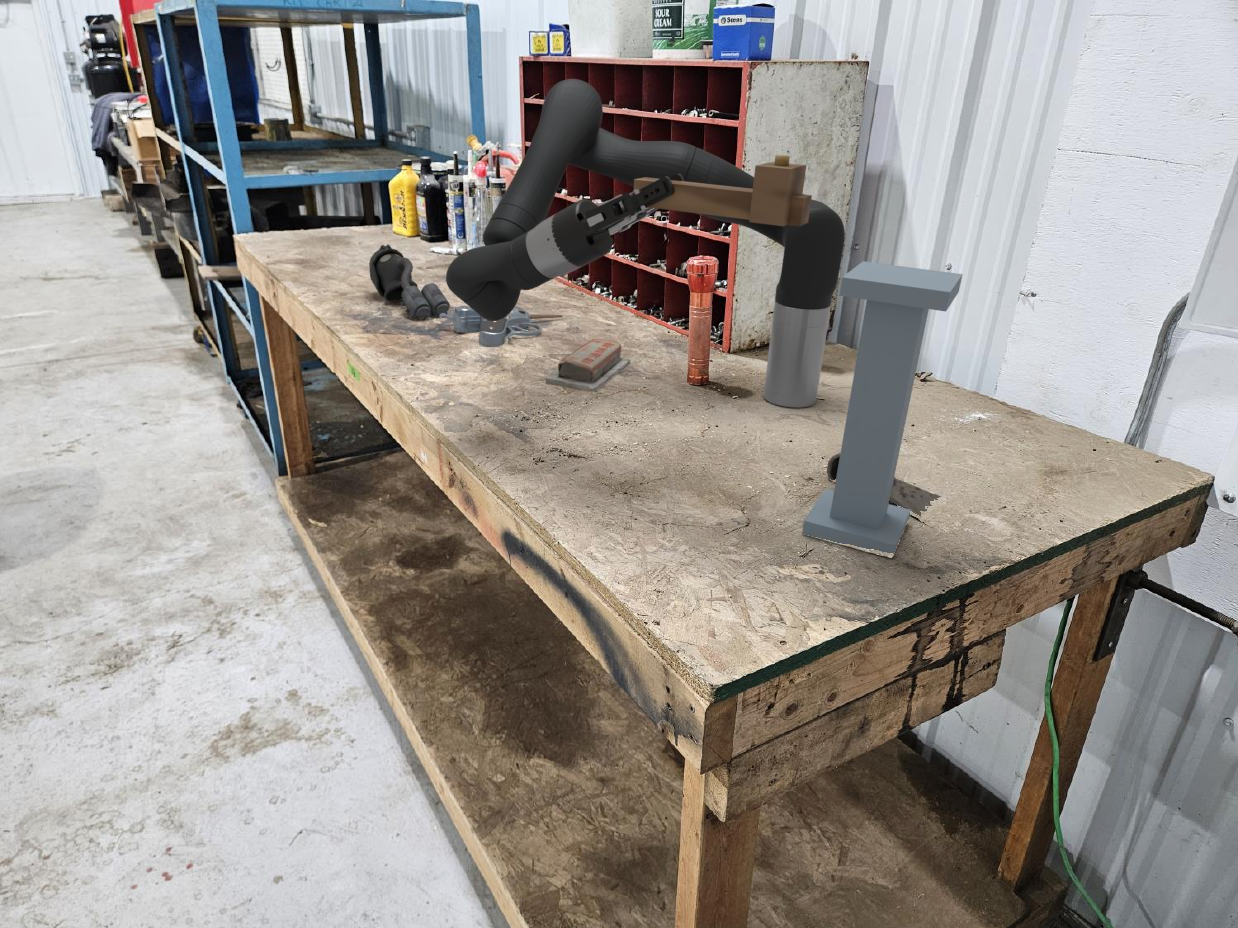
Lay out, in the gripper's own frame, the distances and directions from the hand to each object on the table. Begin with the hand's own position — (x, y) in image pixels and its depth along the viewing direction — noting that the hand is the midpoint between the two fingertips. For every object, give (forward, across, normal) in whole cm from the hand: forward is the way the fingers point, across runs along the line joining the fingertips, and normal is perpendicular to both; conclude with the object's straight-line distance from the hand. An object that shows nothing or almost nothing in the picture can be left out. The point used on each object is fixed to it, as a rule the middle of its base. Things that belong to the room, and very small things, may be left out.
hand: (676, 183), depth 96 cm
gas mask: (-96, +49, -9) cm, 108 cm away
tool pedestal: (+5, 0, +48) cm, 48 cm away
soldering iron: (-68, +46, +7) cm, 82 cm away
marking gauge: (+3, 0, +5) cm, 6 cm away
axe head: (+8, +12, +50) cm, 52 cm away
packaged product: (-45, +32, +20) cm, 59 cm away
